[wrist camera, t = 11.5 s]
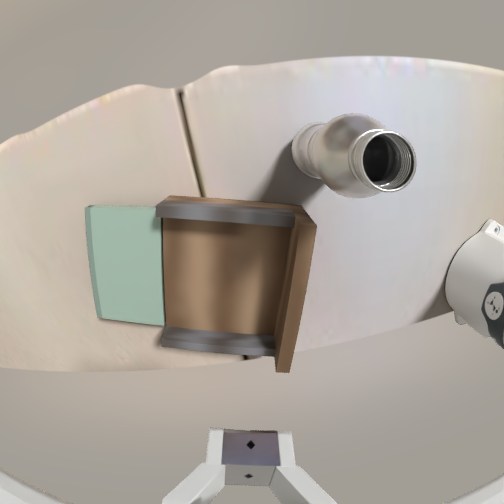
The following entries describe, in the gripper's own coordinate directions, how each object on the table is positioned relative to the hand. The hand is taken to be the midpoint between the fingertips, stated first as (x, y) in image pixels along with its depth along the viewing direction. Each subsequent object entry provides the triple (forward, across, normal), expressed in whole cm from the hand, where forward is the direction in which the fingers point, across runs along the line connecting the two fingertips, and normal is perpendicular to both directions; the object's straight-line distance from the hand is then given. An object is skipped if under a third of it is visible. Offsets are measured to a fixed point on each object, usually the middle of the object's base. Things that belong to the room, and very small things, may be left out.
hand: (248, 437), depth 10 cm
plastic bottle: (+29, -7, -10) cm, 32 cm away
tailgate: (+26, +10, +6) cm, 29 cm away
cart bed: (+29, +2, +6) cm, 30 cm away
